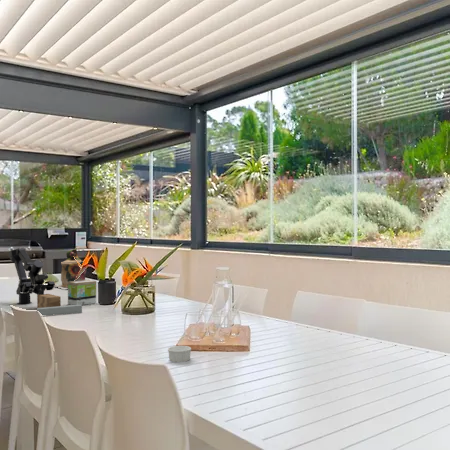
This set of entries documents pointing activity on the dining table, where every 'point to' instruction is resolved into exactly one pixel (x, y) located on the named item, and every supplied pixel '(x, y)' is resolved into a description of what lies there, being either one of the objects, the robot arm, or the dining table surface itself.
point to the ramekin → (179, 353)
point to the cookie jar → (70, 269)
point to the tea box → (81, 292)
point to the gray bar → (60, 310)
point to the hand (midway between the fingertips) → (42, 297)
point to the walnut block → (48, 300)
